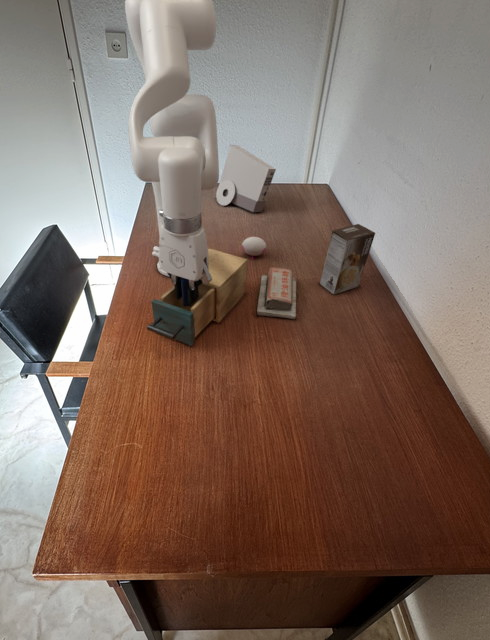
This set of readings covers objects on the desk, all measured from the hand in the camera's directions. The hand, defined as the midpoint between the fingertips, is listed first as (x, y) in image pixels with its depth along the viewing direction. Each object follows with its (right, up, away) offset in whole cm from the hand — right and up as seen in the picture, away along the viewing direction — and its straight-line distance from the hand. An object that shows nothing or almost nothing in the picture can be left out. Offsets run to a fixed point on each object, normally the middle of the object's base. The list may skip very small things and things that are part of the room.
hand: (186, 298), depth 86 cm
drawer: (-1, -7, +4) cm, 8 cm away
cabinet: (+6, +2, +13) cm, 15 cm away
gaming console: (+16, +48, +58) cm, 77 cm away
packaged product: (+23, +3, +15) cm, 28 cm away
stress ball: (+19, +21, +32) cm, 42 cm away
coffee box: (+42, +7, +20) cm, 47 cm away
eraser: (0, -1, +1) cm, 2 cm away
